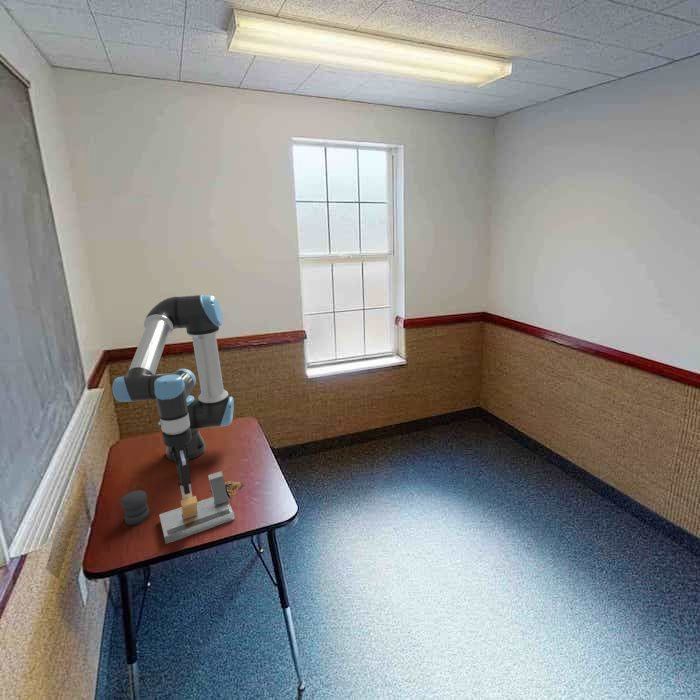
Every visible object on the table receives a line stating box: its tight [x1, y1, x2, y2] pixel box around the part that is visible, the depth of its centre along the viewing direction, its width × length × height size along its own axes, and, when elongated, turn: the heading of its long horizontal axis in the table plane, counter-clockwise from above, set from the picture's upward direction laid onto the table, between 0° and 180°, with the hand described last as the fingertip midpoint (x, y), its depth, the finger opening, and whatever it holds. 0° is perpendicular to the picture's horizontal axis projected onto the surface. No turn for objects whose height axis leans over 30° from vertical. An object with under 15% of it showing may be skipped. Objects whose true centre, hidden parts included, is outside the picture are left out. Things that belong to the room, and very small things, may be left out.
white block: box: [207, 470, 230, 506], centre depth 135 cm, size 2×4×10 cm
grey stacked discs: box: [120, 490, 151, 526], centre depth 132 cm, size 7×7×8 cm
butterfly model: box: [208, 479, 245, 499], centre depth 147 cm, size 9×12×3 cm
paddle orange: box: [180, 495, 198, 519], centre depth 125 cm, size 2×4×10 cm
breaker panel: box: [158, 496, 235, 545], centre depth 130 cm, size 12×20×3 cm, turn 120°
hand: (187, 500), depth 125 cm, fingers closed
